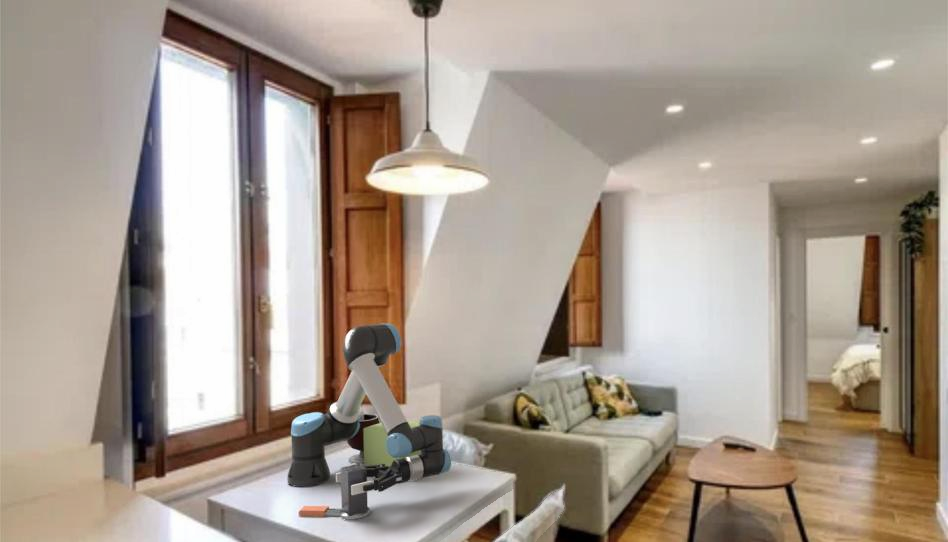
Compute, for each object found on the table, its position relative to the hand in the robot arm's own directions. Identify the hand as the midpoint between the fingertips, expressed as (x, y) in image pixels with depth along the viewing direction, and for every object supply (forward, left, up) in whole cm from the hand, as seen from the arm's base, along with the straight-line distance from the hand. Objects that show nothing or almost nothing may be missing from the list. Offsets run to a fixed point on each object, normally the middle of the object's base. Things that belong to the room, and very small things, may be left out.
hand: (343, 483), depth 167 cm
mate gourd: (-13, +58, -10) cm, 60 cm away
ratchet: (-4, +2, -10) cm, 11 cm away
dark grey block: (+3, +2, -9) cm, 9 cm away
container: (+6, +43, -10) cm, 44 cm away
